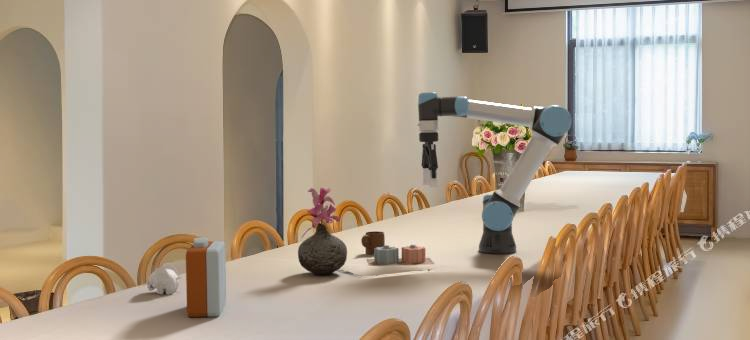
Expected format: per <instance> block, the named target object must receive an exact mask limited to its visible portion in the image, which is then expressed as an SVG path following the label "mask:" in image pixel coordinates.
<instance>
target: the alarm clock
mask: <svg viewBox="0 0 750 340" xmlns="http://www.w3.org/2000/svg"><path fill="white" fill-rule="evenodd" d="M226 268H227V266H226V243H225V241H223V240H220V241H219V240H216V241H215V240H214V241H209V238H208V237H195V238H193V244H192V245H191V246H190V247H189V248H188V249H187V250H186V252H185V278H186V279H185V282H186V315H187V317H188V318H213V317H214V318H215V317H217V318H218V317H220V315H221V313H222V311H223V309H224V307H225V305H226V302H227V271H226V270H227V269H226Z"/></svg>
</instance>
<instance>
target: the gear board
mask: <svg viewBox="0 0 750 340" xmlns="http://www.w3.org/2000/svg"><path fill="white" fill-rule="evenodd" d="M409 246H410V248H411V249H416V246H417V245H416V244H410V245H409ZM389 247H390V245H389V244H387V245H386V244H385V245H384V246H383V249H389ZM365 260H366V262H367V264H368V266H369V267H370V266H374V267H375V266H406V265H407V266H410V265H411V266H413V265H415V266H416V265H417V266H418V265H435V263H434V261H433V260H432V259H431V258H430V257H425V260H426V262H421V263H407V262H402V257H400V258H399V262H397V263H389V264H385V263H380V264H379V263H377V262H374V258H366V259H365Z"/></svg>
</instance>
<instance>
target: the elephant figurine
mask: <svg viewBox="0 0 750 340" xmlns="http://www.w3.org/2000/svg"><path fill="white" fill-rule="evenodd" d="M179 279H182V276H178V269H177V268H176V266H175V265H174V264H173V263H172V262H171V261H170V262H165V263H164V264H163V265H162V266H160V267H157V268H155V269H154V271H153V272H152V273H151V274H150V277H149V279H148V280H147V281H146V282H144V283H143V284H142V287H144V286H145V285H146V286H147V290H148V291H153V290H155V289H156V292H157V294H158V295H163V294H165V293H166V294H165V295H173V294H174V293H175V292H177V290H178V289H179V285H180V280H179Z"/></svg>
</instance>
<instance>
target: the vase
mask: <svg viewBox="0 0 750 340" xmlns="http://www.w3.org/2000/svg"><path fill="white" fill-rule="evenodd" d="M307 192H308V193H311V197H312V204H313V205H314V207H312V208H310V209H308V210H307V211H306V212H307V213H308V214H309V215H310V216H311V217H313V218H312V219H311V220H312V224H311V227H310V228H308V229H307V230H305V232H304V233H303V234H302V236H301V238H300V240H302V239H303V238H304V236H305V235H306V233H307V232H309V231H310V230H311V229H315V232H314V234H312V235H311V236H309V237H307V238H306V239H305V240H303V241H302V242H301V243H300V244H299V246H298V249H297V257H298V258H297V259H298V262H299V264H300V266H301V267H302V268H303V269H305V270H306V271H308V272H310V273H311V274H312V275H313V276H316V277H327V276H332V275H333V274H334V273H335V272H337V271H339V270H340V269H341V268H343V266H344V265H345V264H346V262H347V257H348V249H347V245H346V243H345V242H344V241H343V240H342V239H341V238H339V237H337V236H335V235H333V234H332V233H330V232H329V231H328V230H327V229H328V228H327V227H326V224H332V223H333V220H334V221H336V222H337V223H339V221H340V216H339V215H332V214H333V213H334V212H336V211H337V209H336V208H335V206H336V204H335V202H334V200H333V198H332V197H330V196H327V194H328V193H330V192H331V188H330V187H328V188H327V189H325V188H323V187H320V188H319V193H318V192H317V190H316V189H315V188H313V187H311V188H309V190H307ZM325 202H330V204H329V205H328V204H326V205H325V207H324V204H325ZM332 204H333V205H334V206H332ZM323 221H325V222H324V223H325V224H324V223H323ZM316 224H317V226H316Z"/></svg>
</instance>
